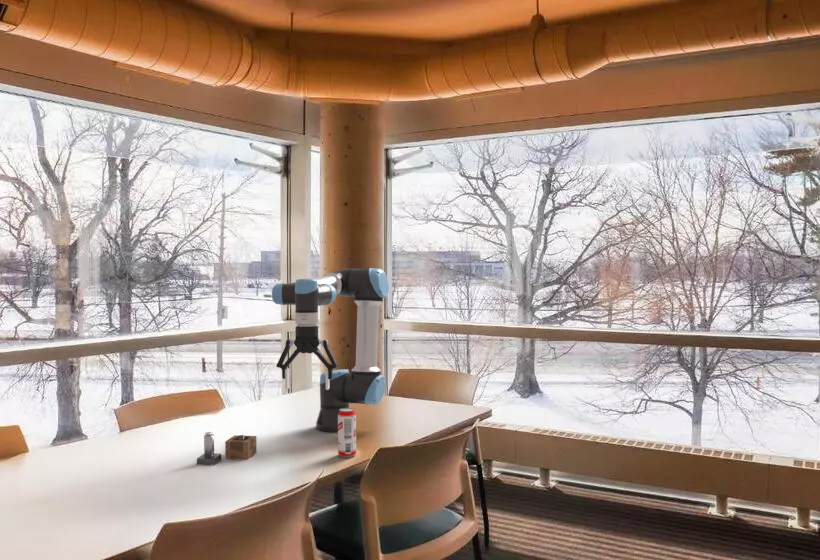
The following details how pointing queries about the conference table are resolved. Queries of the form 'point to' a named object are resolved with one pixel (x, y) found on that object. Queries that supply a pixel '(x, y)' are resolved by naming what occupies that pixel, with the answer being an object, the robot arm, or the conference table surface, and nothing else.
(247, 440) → the brown box
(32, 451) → the conference table surface
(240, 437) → the stand
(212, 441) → the hub
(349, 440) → the beer can
